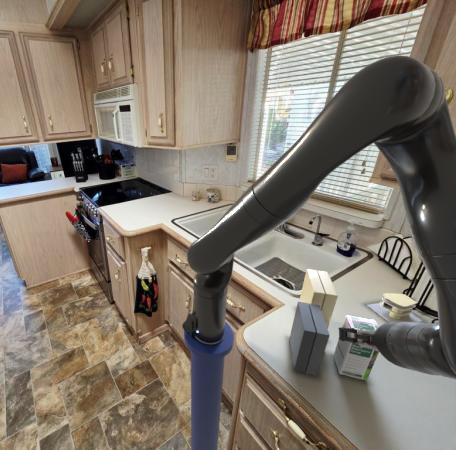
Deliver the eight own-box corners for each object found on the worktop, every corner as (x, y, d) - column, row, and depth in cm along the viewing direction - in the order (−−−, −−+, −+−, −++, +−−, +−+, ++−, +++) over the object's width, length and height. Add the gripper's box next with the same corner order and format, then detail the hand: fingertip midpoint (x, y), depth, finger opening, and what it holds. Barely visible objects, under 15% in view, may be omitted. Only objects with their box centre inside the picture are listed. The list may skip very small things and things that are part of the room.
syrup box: (338, 374, 61) (354, 331, 55) (332, 354, 66) (346, 313, 60) (366, 381, 59) (386, 338, 53) (358, 360, 64) (375, 318, 58)
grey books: (293, 370, 63) (304, 330, 57) (289, 339, 71) (297, 301, 66) (316, 376, 61) (329, 335, 55) (309, 343, 70) (319, 305, 64)
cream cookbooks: (302, 335, 72) (313, 291, 66) (297, 309, 82) (306, 268, 75) (324, 340, 70) (338, 295, 64) (316, 312, 80) (327, 271, 73)
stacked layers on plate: (393, 301, 82) (399, 287, 80) (423, 321, 74) (430, 307, 72) (366, 305, 81) (371, 291, 79) (393, 326, 73) (399, 311, 71)
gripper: (471, 332, 39) (407, 329, 54) (361, 313, 44) (330, 315, 58) (480, 385, 37) (411, 368, 51) (364, 359, 42) (331, 350, 56)
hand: (368, 340), depth 55 cm, fingers open, 8 cm apart
